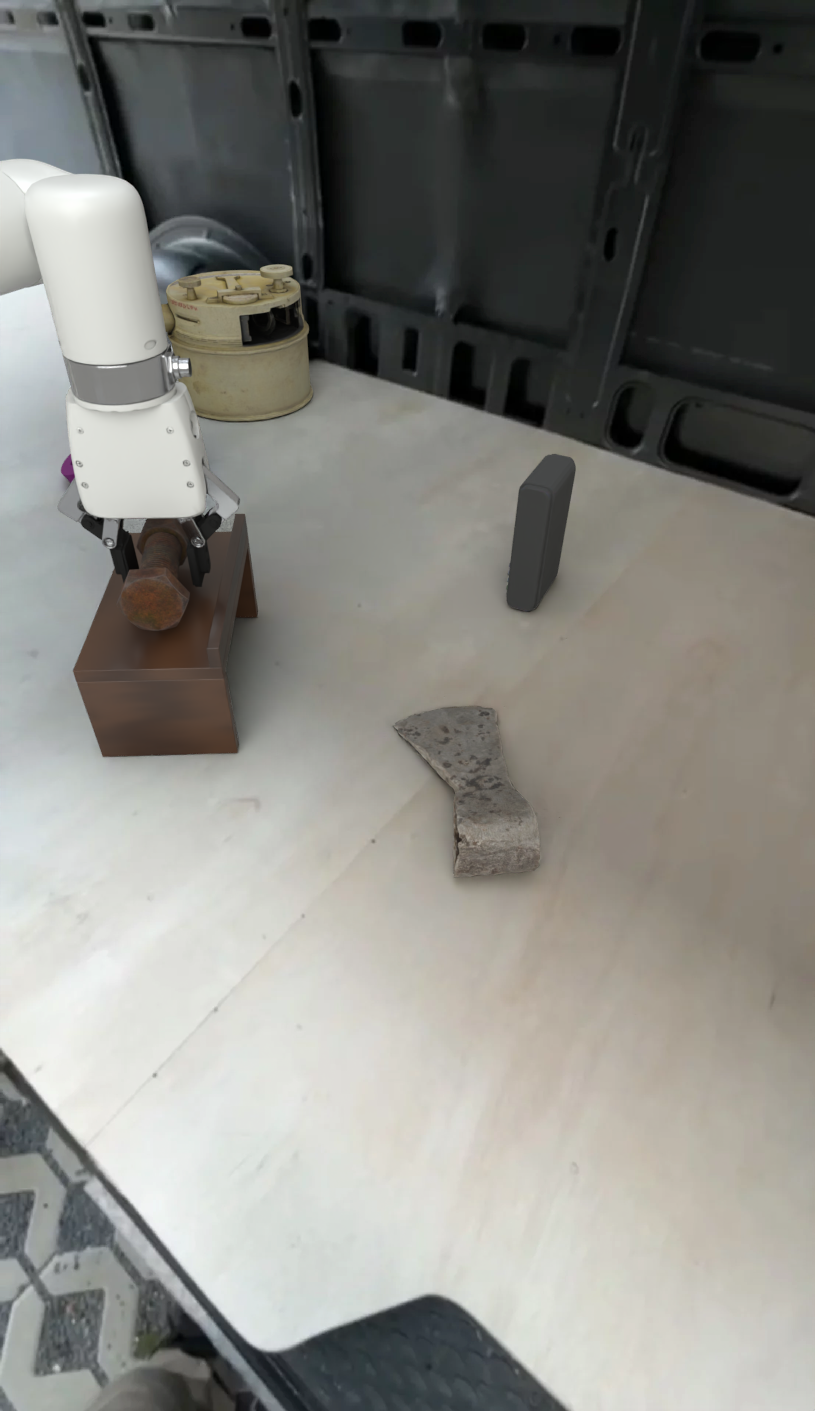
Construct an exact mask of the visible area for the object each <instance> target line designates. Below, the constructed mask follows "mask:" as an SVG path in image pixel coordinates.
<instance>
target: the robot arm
mask: <svg viewBox="0 0 815 1411" xmlns="http://www.w3.org/2000/svg"><path fill="white" fill-rule="evenodd" d="M148 227H149V226H148V222H147V216H146V211H145V207H144V204H143V200H142V197H141V196H140V194H139V191H138V190H137V189H136V188H135V186H134V185H133V184H131V183H130V182H128V181H127V180H125V179H123V178H120V177H118V176H114V175H108V174H99V173H98V174H97V173H73V172H69V171H67V170H65V169H62V168H59V167H57V166H55V165H52V164H49V163H47V162H44V161H41V160H37V159H32V158H31V159H30V158H12V159H4V160H0V297H1V296H5V295H8V294H10V293H13V292H16V291H20V290H23V289H27V288H28V289H29V288H32V287H36V286H40V285H43V287H44V290H45V294H46V299H47V301H48V306H49V309H50V313H51V317H52V321H53V326H54V329H55V332H56V337H57V339H58V344H59V348H60V351H61V355H62V358H63V362H64V366H65V370H66V373H67V378H68V381H69V385H70V386H69V388H68V389H67V391H66V394H65V418H66V429H67V438H68V446H69V452H70V454H71V459H72V464H73V469H74V474H75V478H74V479H73V481H72V482H71V483H70V484H69V485H68V487H67V489H66V490H65V492H64V493H63V495H62V496H61V497H60V499H59V501H58V503H57V505H56V508H57V510H58V511H59V512H60V513H61V514H62V515H65V516H66V517H67V518H69V519H71V520H72V521H74V522H76V523H78V524H80V526H81V527H82V528H83V529H85V530H86V531H88V532H89V533H90V534H92V535H93V536H95V537H96V538H98V539H99V540H100V541H101V544H102V546H103V547H104V548H106V549H109V553H110V556H111V559H112V563H113V569H114V568H115V571H116V574H117V575H118V574H121V576H122V579H123V583H124V582H125V579H126V577H127V575H128V572H129V570H136V569H139V565H138V560H137V556H136V552H135V548H134V544H133V540H132V536H131V534H129V533H130V532H129V530H126V529H124V525H125V520H146V519H167V518H177V519H178V521H179V523H180V524H181V526H182V528H183V530H184V531H185V533H186V535H187V537H188V540H189V542H188V545H187V549H186V552H187V557H188V563H189V568H190V573H191V578H192V583H193V585H195V587H202V583H203V579H204V575H205V573H210V569H211V562H210V556H209V550H208V545H207V540H208V539H209V537H210V536H211V535H212V534H213V533H214V532H217V530H218V529H219V528H220V527H221V525H222V524H223V523H224V522H225V521H227V520H228V519H229V518H231V517H232V516H233V515H235V514H236V512H238V510H239V508H240V504H241V498H240V497H239V495H238V494H237V493H235V491H233V490H232V489H231V488H230V487H229V486H228V485H227V484H226V483H225V482H223V480H221V479H220V478H219V477H218V476H217V475H215V473H213V471H211V468H210V463H209V459H208V454H207V450H206V445H205V442H204V436H203V434H202V429H201V425H200V422H199V418H198V415H196V412H195V409H194V406H193V402H192V399H191V397H190V394H189V392H188V389H187V387H186V385H185V384H183V383H182V382H178V379H182V377H191V376H192V365H191V360H190V358H180V356H175V354H174V352H173V349H172V343H168V342H169V341H168V335H167V332H166V330H165V324H164V318H163V312H162V307H161V304H162V302H161V296H160V295H161V294H160V291H159V285H158V280H157V272H156V267H155V262H154V257H153V256H154V255H153V251H152V245H151V244H152V243H151V239H150V238H151V237H150V233H149V232H150V231H149V228H148ZM207 496H209V497H210V498H211V499H212V500H213V501H214V502H216V504H215V505H214V506H212V507H211V508H209V510H208V511H207V512H206V513H205V511H206V510H207V500H206V499H207ZM204 513H205V514H204Z"/></svg>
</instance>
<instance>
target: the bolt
mask: <svg viewBox="0 0 815 1411" xmlns="http://www.w3.org/2000/svg"><path fill="white" fill-rule="evenodd" d="M140 533H141V534H140V536H139V539H138V542H137V546H136V547H137V549H138V550H139V552H140V553H141V554H142V561H141V566H140V569H136V570H129V572H128V575H127V577H126V579H125V582H124V584H123V587H122V589H121V592H120V594H119V597H118V600H117V604H116V605H117V607H118V608H119V609H120V611H121V612H122V613H123V615H124V616H125V617H126V618H127V619H128V620H129V621H130V622H131V623H133V624H134V625H135V626H137V627H139V628H140V629H144V630H153V631H155V630H165V629H170V628H173V627H176V626H177V625H178V623H179V622H180V619H181V617H182V615H183V613H184V611H185V609H186V606H187V604H188V601H189V596H190V592H189V591H188V590H187V589H186V588H185V587H184V586H183V585H182V584H181V583H180V582H179V581H178V580H177V577H178V572H179V566H181V565H183V563H184V562H185V560H186V557H187V552H186V549H187V545H188V542H189V540H188V537H187V535H186V533H185V531H184V530H183V528H182V526H181V524H180V523H179V521H178V519H177V518H167V519H145V521H144V524H143V526H142V529H141V531H140Z"/></svg>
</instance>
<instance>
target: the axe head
mask: <svg viewBox="0 0 815 1411" xmlns="http://www.w3.org/2000/svg"><path fill="white" fill-rule="evenodd" d="M497 723H498V716H497V711H496V710H495V708H493V707H484V706H482V705H481V706H480V705H465V706H464V705H463V706H444V707H440V708H435V709H433V710H428V711H424V712H422V713H414V714H412V715H409V716H407V717H406V718H404V719H402V720H399V721H396V722H394V724H393V727H394V728H395V730H397V733H398V734H399V735H400V736H401V737H402V738H403V739H404V740H406V741H408V742H409V744H410V745H411V747H413V748H414V749H415V750H416V751H417V752H418V754H420V756H421V757H422V758H423V759H424V760H425V761H427V762H428V764H429V766H430V767H431V768H432V769H434V770H435V772H436V773H437V774H438V775H439V776H440V777H441V779H443V781H445V783H447V784H448V786H449V787H451V789H453V792H454V796H453V804H452V805H453V806H452V807H453V808H452V809H453V811H452V820H453V823H452V824H453V825H452V826H453V843H452V859H453V865H452V866H453V870H452V874H453V877H455V878H462V877H470V878H471V877H475V876H479V875H480V876H495V875H501V874H515V873H516V874H519V873H525V872H531V871H533V872H535V870H536V869H538V867H539V866H540V859H541V838H540V834H539V828H538V822H537V816H536V814H535V811H534V809H533V807H532V805H531V804H530V803H529V802H528V801H527V800H526V798H524V797H523V796H522V794H521V793H519V791H517V790H516V789H515V787H514V786H513V784H512V782H511V780H510V776H509V775H508V768H507V765H506V759H505V758H504V753H503V745H502V739H501V736H500V735H501V734H500V731H499V726H498V725H497Z"/></svg>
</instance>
